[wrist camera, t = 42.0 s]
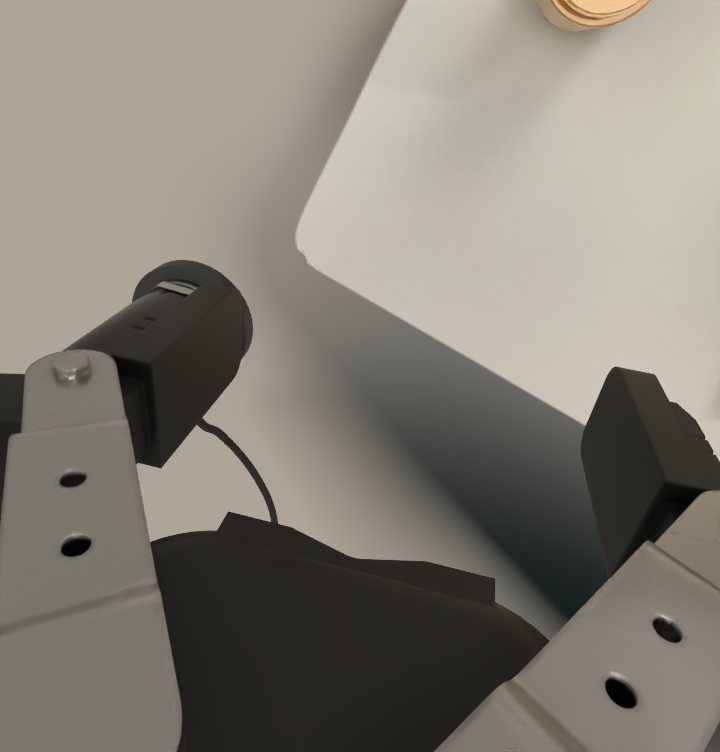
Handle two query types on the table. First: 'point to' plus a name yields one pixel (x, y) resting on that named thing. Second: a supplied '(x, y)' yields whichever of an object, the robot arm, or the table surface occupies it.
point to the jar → (588, 12)
